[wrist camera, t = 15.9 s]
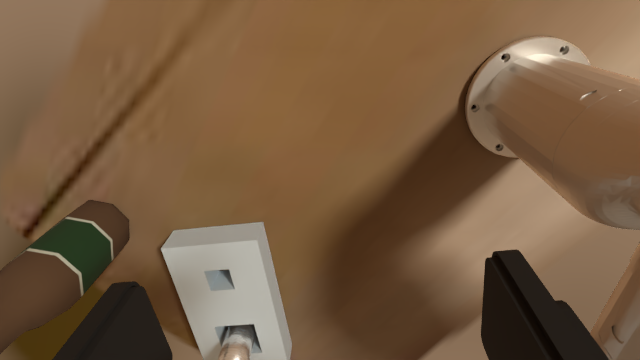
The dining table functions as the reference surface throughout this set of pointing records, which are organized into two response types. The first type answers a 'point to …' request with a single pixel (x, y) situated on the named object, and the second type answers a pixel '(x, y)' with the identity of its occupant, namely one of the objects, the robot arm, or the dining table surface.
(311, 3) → the dining table surface
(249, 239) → the manifold block
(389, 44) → the dining table surface
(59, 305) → the beer bottle
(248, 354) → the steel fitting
